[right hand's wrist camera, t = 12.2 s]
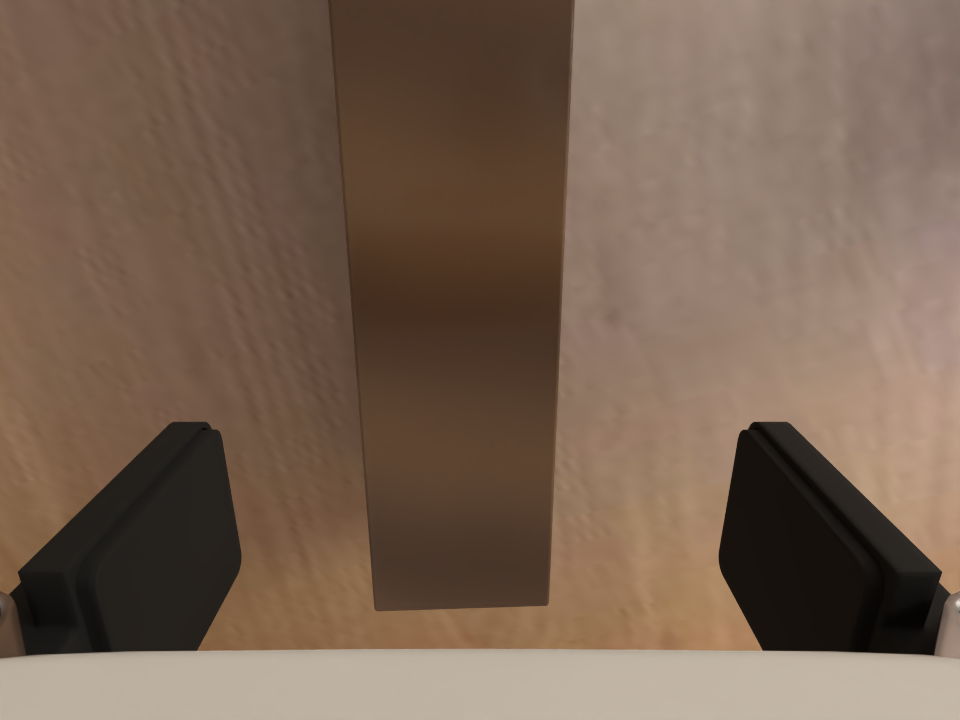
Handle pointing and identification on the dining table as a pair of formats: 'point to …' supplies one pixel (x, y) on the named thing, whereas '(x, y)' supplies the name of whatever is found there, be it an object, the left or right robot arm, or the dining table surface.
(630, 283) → the dining table surface
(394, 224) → the beam
